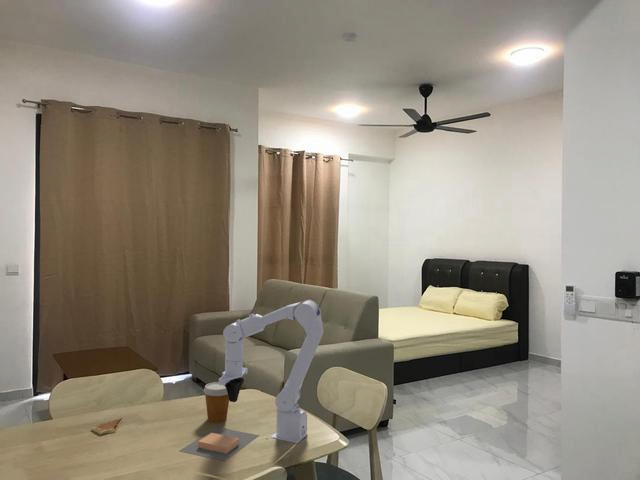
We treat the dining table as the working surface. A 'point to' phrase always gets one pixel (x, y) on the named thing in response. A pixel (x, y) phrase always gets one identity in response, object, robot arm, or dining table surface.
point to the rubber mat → (194, 449)
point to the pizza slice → (107, 427)
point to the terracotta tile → (218, 443)
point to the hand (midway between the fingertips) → (233, 401)
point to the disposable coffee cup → (216, 402)
